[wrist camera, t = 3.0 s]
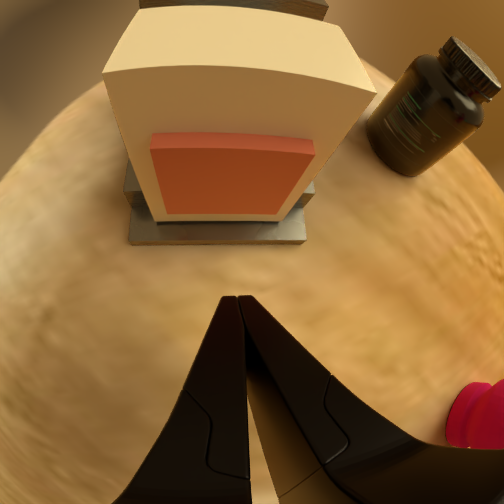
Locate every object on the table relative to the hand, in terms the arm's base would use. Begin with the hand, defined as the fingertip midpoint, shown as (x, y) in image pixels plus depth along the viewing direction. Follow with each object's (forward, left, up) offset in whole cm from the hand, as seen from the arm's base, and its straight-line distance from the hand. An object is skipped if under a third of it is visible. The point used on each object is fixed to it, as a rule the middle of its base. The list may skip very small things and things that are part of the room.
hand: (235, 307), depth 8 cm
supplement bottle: (+19, -8, -8) cm, 22 cm away
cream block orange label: (+6, +3, -6) cm, 9 cm away
